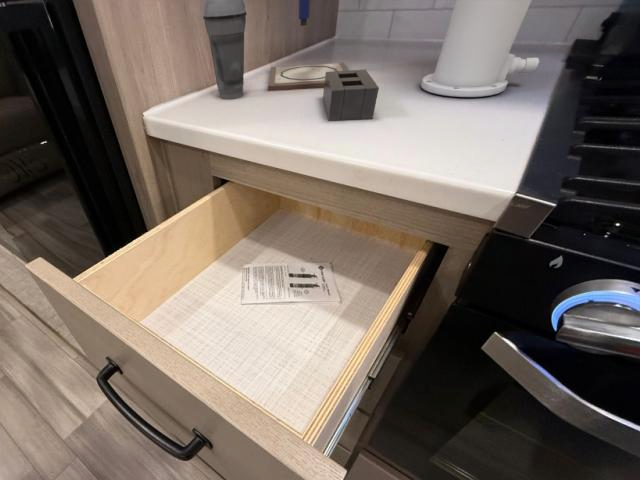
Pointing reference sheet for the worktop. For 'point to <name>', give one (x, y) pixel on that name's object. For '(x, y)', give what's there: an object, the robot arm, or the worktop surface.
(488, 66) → the robot arm
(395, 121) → the worktop surface
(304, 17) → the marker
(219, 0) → the beverage cup
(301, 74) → the drawing board
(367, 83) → the block
